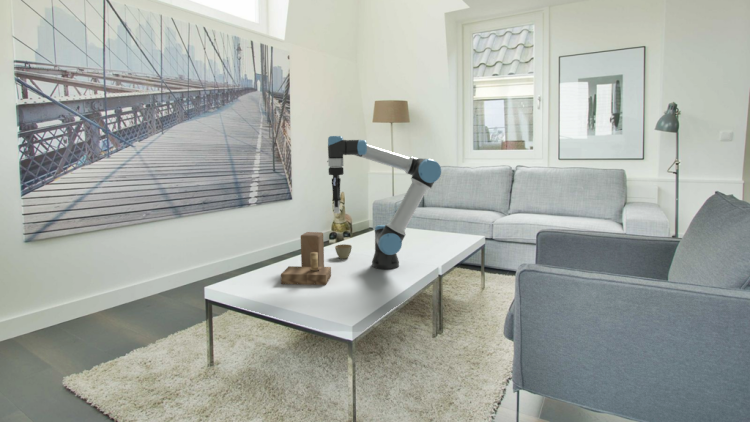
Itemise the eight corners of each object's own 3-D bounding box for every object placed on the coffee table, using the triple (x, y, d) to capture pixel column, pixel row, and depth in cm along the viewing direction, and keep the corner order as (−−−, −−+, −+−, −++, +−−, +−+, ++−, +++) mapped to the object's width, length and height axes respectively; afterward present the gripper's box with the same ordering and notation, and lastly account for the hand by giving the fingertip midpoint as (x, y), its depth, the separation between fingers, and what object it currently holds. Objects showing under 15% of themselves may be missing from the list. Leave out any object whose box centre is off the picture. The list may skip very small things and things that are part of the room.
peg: (319, 279, 217) (318, 252, 215) (317, 281, 214) (316, 254, 212) (311, 279, 218) (311, 252, 216) (310, 281, 214) (309, 253, 212)
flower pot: (335, 256, 264) (335, 244, 263) (351, 255, 265) (351, 244, 264) (335, 260, 254) (335, 248, 253) (352, 259, 255) (352, 247, 254)
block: (318, 272, 229) (317, 235, 226) (301, 271, 231) (299, 235, 228) (324, 267, 239) (323, 232, 236) (307, 266, 241) (306, 231, 238)
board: (331, 276, 222) (330, 266, 221) (326, 284, 208) (325, 274, 208) (289, 275, 224) (288, 266, 223) (281, 284, 210) (280, 274, 209)
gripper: (330, 166, 224) (331, 211, 228) (326, 167, 211) (327, 215, 215) (345, 166, 224) (345, 211, 227) (341, 167, 211) (342, 215, 214)
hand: (336, 213), depth 221 cm, fingers closed
